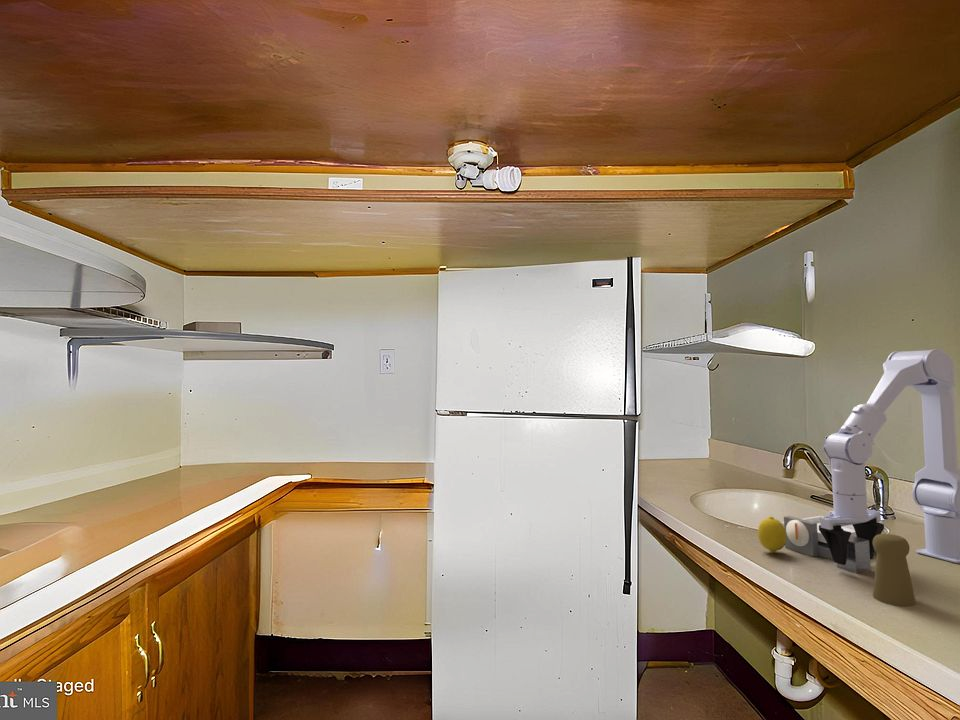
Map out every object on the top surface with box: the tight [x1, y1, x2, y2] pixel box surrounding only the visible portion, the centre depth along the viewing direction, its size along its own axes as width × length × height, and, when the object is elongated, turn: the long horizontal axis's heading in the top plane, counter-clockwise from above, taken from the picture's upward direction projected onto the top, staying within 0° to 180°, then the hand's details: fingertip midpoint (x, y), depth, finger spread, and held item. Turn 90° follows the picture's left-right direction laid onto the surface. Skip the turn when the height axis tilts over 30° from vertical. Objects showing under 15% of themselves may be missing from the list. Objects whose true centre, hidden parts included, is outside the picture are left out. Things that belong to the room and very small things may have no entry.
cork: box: [872, 533, 917, 607], centre depth 96 cm, size 6×6×11 cm
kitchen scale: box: [780, 515, 877, 561], centre depth 125 cm, size 16×14×7 cm
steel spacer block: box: [836, 535, 872, 574], centre depth 111 cm, size 4×4×6 cm
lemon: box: [757, 516, 786, 554], centre depth 122 cm, size 6×6×8 cm
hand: (853, 560), depth 111 cm, fingers open, 7 cm apart
